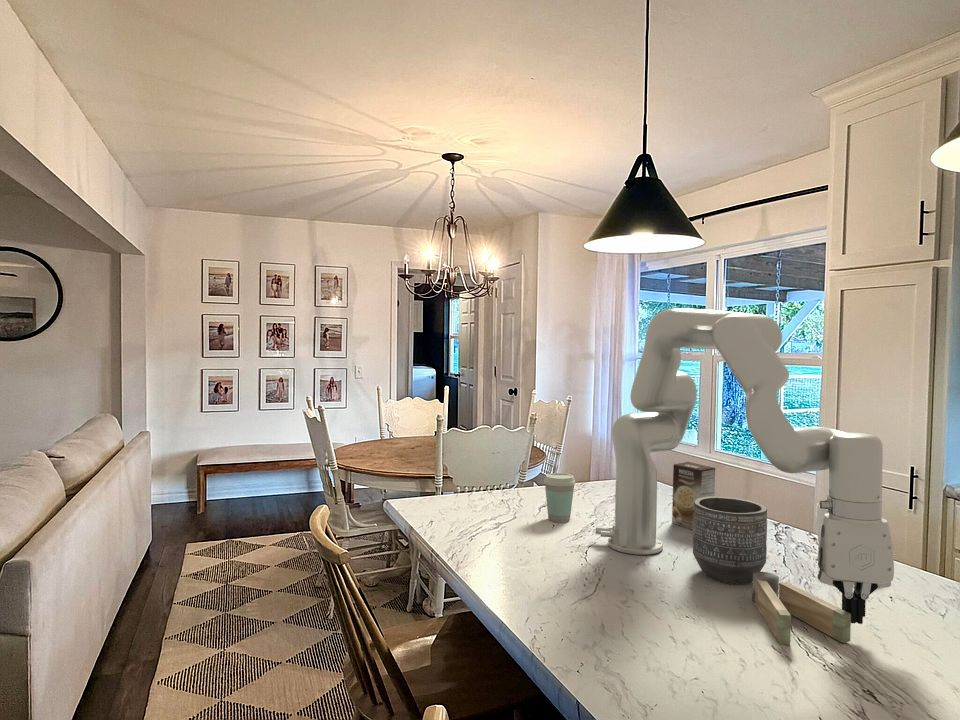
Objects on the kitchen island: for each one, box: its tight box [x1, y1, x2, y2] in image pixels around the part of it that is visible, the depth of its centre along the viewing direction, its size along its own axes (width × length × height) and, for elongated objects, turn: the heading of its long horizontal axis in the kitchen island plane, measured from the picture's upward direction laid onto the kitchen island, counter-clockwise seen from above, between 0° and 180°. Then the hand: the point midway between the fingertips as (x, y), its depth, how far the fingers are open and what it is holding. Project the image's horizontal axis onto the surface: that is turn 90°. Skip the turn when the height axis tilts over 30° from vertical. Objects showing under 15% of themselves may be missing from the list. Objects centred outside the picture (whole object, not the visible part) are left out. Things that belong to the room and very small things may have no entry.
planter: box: [692, 495, 768, 585], centre depth 131 cm, size 14×14×15 cm
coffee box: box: [671, 461, 716, 530], centre depth 167 cm, size 9×6×16 cm
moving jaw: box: [778, 581, 852, 644], centre depth 108 cm, size 2×14×4 cm, turn 16°
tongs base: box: [751, 571, 792, 646], centre depth 110 cm, size 4×19×5 cm, turn 170°
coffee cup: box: [543, 472, 576, 524], centre depth 171 cm, size 8×8×12 cm
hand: (853, 620), depth 104 cm, fingers closed
